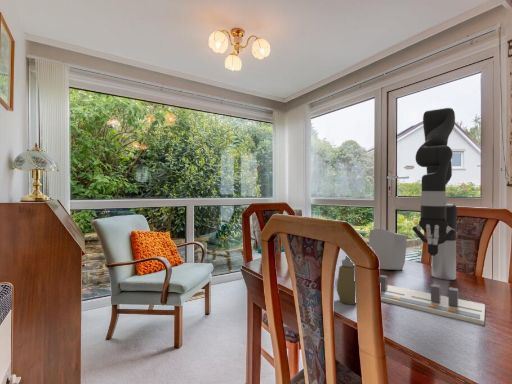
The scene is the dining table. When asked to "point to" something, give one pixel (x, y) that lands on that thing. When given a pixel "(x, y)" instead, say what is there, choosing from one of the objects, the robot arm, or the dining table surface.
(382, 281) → the slider
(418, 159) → the robot arm
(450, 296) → the slider
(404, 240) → the electrical switch box
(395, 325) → the dining table surface
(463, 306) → the switch panel
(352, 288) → the squeeze bottle
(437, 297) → the slider middle
